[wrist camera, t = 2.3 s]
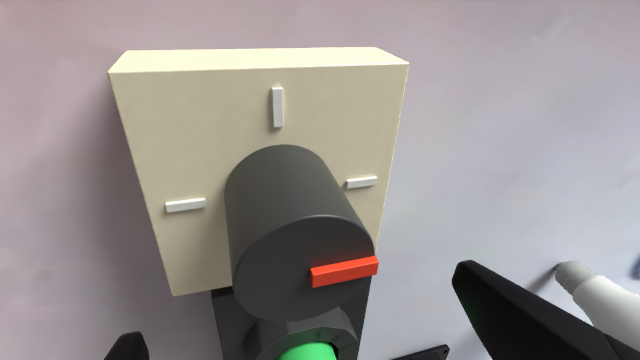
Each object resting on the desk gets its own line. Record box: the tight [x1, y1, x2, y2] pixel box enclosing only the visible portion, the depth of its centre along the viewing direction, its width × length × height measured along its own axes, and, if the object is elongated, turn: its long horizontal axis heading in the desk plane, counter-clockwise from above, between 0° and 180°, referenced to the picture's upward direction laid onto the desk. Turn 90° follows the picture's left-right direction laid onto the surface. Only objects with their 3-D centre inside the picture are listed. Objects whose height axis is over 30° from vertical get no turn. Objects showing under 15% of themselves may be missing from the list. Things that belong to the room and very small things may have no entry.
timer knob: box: [224, 144, 379, 322], centre depth 12 cm, size 4×4×5 cm
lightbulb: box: [555, 261, 640, 351], centre depth 26 cm, size 6×6×11 cm
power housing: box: [211, 275, 372, 360], centre depth 21 cm, size 10×9×4 cm
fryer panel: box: [107, 47, 409, 297], centre depth 15 cm, size 10×10×3 cm
